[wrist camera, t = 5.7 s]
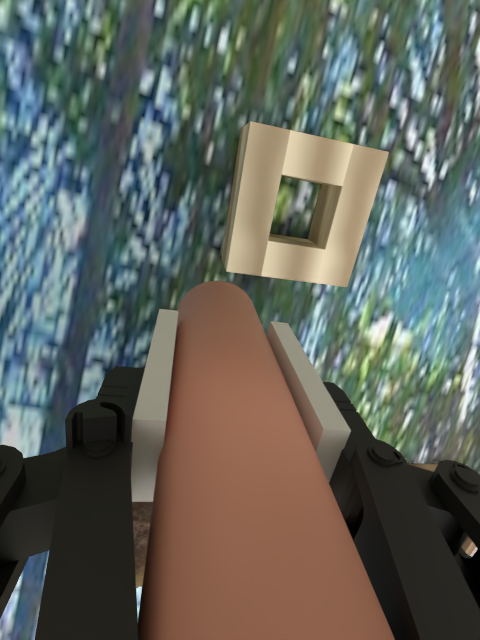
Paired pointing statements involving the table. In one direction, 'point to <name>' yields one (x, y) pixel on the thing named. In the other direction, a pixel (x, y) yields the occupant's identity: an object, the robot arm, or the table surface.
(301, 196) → the table surface
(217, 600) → the peg
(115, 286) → the table surface
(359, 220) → the socket block
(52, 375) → the table surface
